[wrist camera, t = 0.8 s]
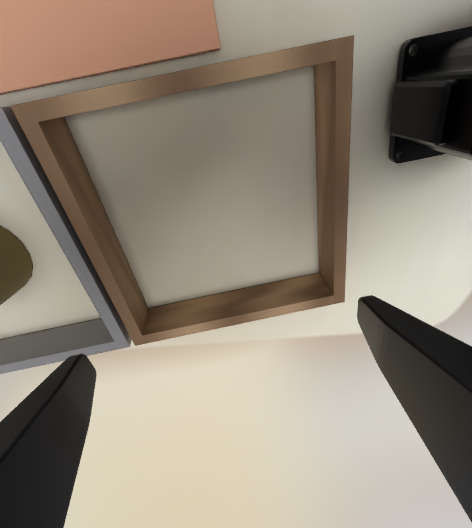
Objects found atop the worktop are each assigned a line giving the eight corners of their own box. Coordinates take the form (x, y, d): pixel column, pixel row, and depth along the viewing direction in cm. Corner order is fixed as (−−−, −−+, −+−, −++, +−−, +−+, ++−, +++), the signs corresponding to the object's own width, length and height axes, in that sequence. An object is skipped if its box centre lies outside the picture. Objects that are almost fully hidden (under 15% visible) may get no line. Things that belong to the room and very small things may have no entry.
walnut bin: (328, 43, 16) (353, 35, 13) (328, 278, 24) (344, 301, 21) (41, 102, 15) (10, 106, 13) (141, 317, 24) (135, 345, 21)
